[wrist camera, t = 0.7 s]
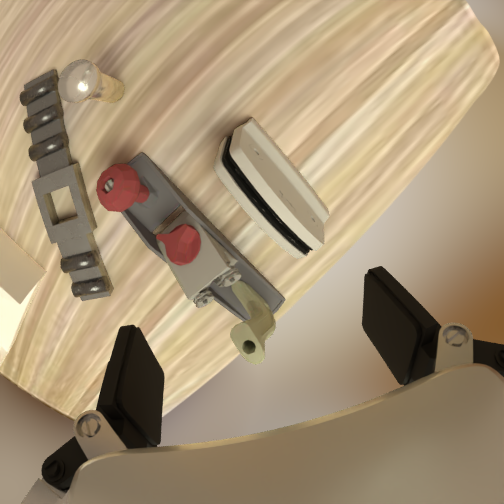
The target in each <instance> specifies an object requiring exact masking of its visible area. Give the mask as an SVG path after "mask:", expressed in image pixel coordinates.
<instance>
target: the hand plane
mask: <svg viewBox="0 0 504 504" xmlns="http://www.w3.org/2000/svg"><path fill="white" fill-rule="evenodd" d="M96 191H97V195H98V198H99V200H100V203H101V204H102V205H103V206H104V207H105V208H106V209H107V210H108V211H116V212H121V213H122V214H123V215H124V217H125V218H126V220H127V221H128V222H129V224H130V225H131V226H132V228H133V229H134V230H135V231H136V233H137V234H138V235H139V237H140V238H141V239H142V241H143V242H144V243H145V244H146V246H147V247H148V248H149V249H150V250H152V251H153V252H154V253H155V254H156V255H158V256H159V257H160V258H161V259H163V260H164V261H165V262H166V263H168V265H169V267H170V268H171V270H172V272H173V274H174V275H175V277H176V279H177V281H178V283H179V284H180V286H181V288H182V290H183V291H184V293H185V295H186V296H187V298H188V299H189V300H193V299H194V301H193V302H194V303H195V304H196V307H198V308H200V307H204V306H206V305H207V304H209V303H210V302H211V301H212V300H213V299H214V300H215V301H216V302H218V303H219V304H220V305H222V306H223V307H225V308H226V309H227V310H229V311H230V312H231V313H233V314H234V315H235V316H237V317H238V318H240V319H241V320H242V321H244V322H241V323H239V324H237V325H236V326H235V327H234V328H233V329H232V330H231V333H230V336H231V339H232V341H233V342H234V344H235V346H236V347H237V349H238V350H239V352H240V354H241V355H242V357H243V358H244V359H246V360H247V361H248V362H250V363H253V364H255V365H256V364H259V363H261V362H262V361H263V360H264V359H265V344H264V343H265V340H267V339H268V338H269V337H270V336H271V335H272V334H273V332H274V330H275V324H276V322H275V319H274V316H273V314H274V313H275V312H277V311H278V309H279V308H280V307H281V305H282V304H283V303H284V301H285V298H284V297H283V296H282V295H281V294H280V293H279V292H278V291H277V290H276V289H275V288H274V287H273V286H272V285H271V284H270V283H269V282H268V281H267V280H266V279H265V278H264V277H263V276H262V275H261V274H260V273H259V272H258V271H257V270H256V269H255V267H254V266H253V265H252V264H251V263H250V262H249V261H248V260H247V259H246V258H245V257H244V256H243V255H242V254H241V253H240V252H239V251H238V250H237V249H236V248H235V247H234V246H233V245H232V244H231V243H230V242H229V241H228V240H227V239H226V238H225V237H224V236H223V235H222V234H221V232H220V231H219V230H218V229H217V228H216V227H215V226H214V225H213V224H212V223H211V222H210V221H209V220H208V219H207V218H206V217H205V216H204V215H203V214H202V213H201V212H200V211H199V210H198V209H197V208H196V207H195V206H194V205H193V203H192V202H191V201H190V200H189V199H188V198H187V197H186V196H185V195H184V194H183V193H182V192H181V191H180V190H179V189H178V188H177V187H176V186H175V185H174V184H173V183H172V182H171V181H170V180H169V178H168V177H167V176H166V175H165V174H164V173H163V172H162V171H161V170H160V169H159V168H158V167H157V166H156V165H155V164H154V163H153V162H152V161H151V160H150V159H149V157H148V156H147V155H146V154H144V153H140V154H139V155H138V156H136V157H135V158H134V159H133V160H131V161H130V162H129V163H127V164H114V165H113V166H111V167H109V168H108V169H107V170H105V171H104V172H103V173H102V174H101V176H100V178H99V179H98V181H97V189H96ZM180 205H182V207H183V208H184V209H185V210H184V211H183V212H182V213H181V214H180V215H179V216H178V217H177V218H176V219H175V220H174V221H173V222H172V223H170V224H169V225H168V226H167V227H166V228H165V229H164V230H163V231H162V232H161V233H160V234H157V236H155V235H154V234H153V233H152V232H153V231H154V230H155V229H156V228H157V227H158V226H159V225H160V224H161V223H162V222H163V221H164V220H165V219H166V218H167V217H168V216H169V215H170V214H171V213H173V212H174V211H175V210H176V209H177V208H178V207H179V206H180Z"/></svg>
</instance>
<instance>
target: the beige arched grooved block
mask: <svg viewBox="0 0 504 504" xmlns="http://www.w3.org/2000/svg"><path fill="white" fill-rule="evenodd" d="M213 168H214V171H215V172H216V174H217V175H218V177H219V178H220V180H221V181H222V183H223V184H224V185H225V187H226V188H227V189H228V191H229V192H230V193H231V194H232V196H233V197H234V198H235V199H236V201H237V202H238V203H239V204H240V206H241V207H242V208H243V209H244V211H245V212H246V213H247V214H248V215H249V216H250V217H251V218H252V219H253V221H254V222H255V223H256V224H257V225H258V226H259V227H260V228H261V229H262V230H263V231H264V232H265V233H266V234H267V235H268V236H269V237H270V238H271V239H272V240H273V241H274V242H276V243H277V244H278V245H279V246H280V247H281V248H282V249H284V250H285V251H286V252H288V253H289V254H290V255H292V256H293V257H295V258H296V259H298V258H302V257H305V256H307V255H308V252H309V250H315V251H317V250H318V249H319V248H320V247H321V246H322V245H324V223H325V222H326V220H327V219H328V218H329V216H330V215H329V211H328V208H327V207H326V206H325V204H324V203H323V202H322V201H321V199H320V198H319V197H318V195H317V194H316V193H315V191H314V190H313V189H312V188H311V186H310V185H309V184H308V182H307V181H306V180H305V179H304V177H303V176H302V175H301V174H300V172H299V171H298V170H297V169H296V168H295V166H294V165H293V164H292V163H291V161H290V160H289V159H288V158H287V157H286V155H285V154H284V153H283V152H282V151H281V149H280V148H279V147H278V146H277V145H276V143H275V142H274V141H273V140H272V139H271V138H270V137H269V135H268V134H267V133H266V132H265V131H264V130H263V128H262V127H261V126H260V125H259V124H258V123H257V122H256V121H255V119H254V118H251V119H249V121H248V122H247V123H245V124H243V125H241V126H239V127H237V128H235V129H234V133H233V136H232V137H231V136H230V137H227V136H226V137H225V138H224V139H223V141H222V142H221V144H220V147H219V150H218V153H217V156H216V159H215V162H214V165H213Z"/></svg>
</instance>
